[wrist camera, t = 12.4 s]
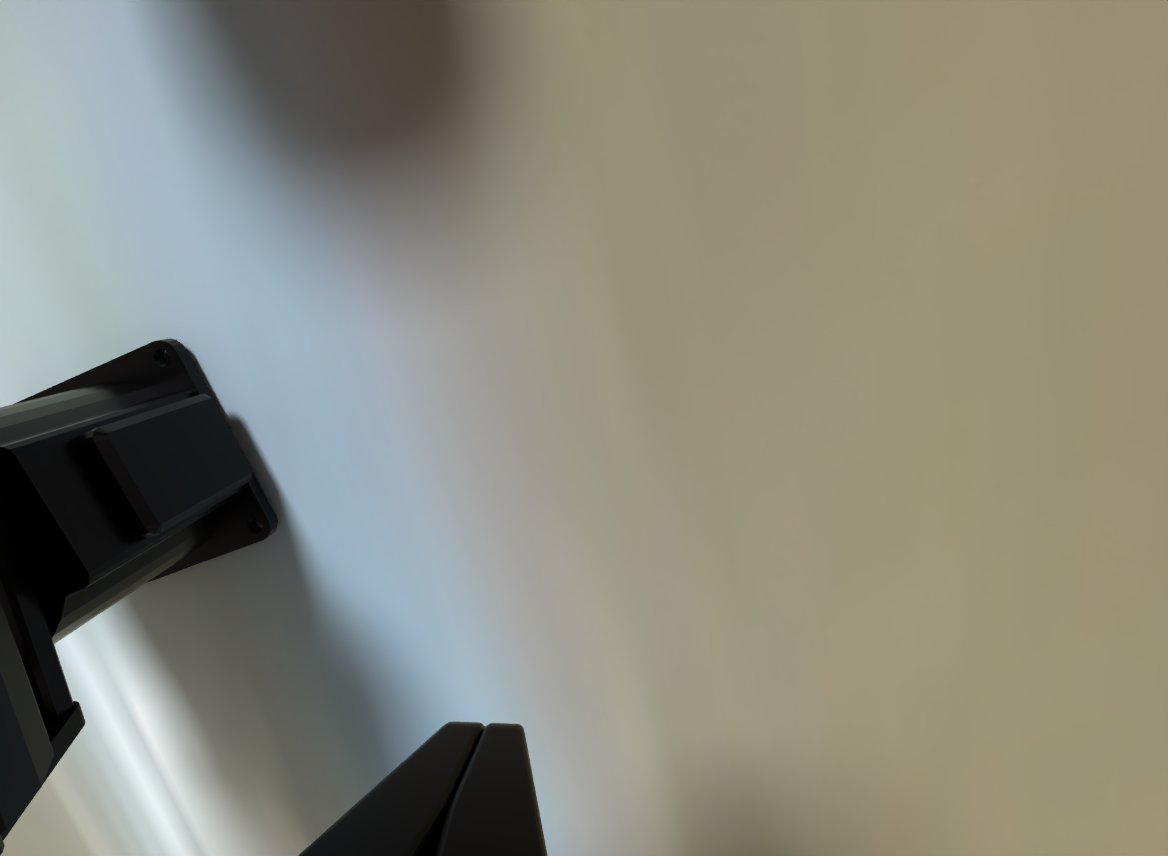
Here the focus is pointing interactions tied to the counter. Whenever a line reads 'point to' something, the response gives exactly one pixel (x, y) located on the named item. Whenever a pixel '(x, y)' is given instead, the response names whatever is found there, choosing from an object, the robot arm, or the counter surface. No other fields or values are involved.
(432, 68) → the counter surface
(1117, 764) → the counter surface
